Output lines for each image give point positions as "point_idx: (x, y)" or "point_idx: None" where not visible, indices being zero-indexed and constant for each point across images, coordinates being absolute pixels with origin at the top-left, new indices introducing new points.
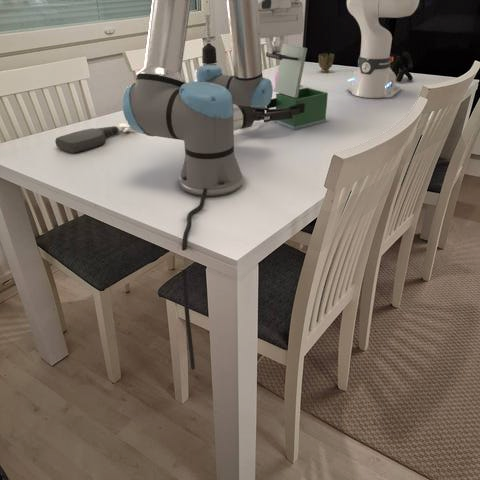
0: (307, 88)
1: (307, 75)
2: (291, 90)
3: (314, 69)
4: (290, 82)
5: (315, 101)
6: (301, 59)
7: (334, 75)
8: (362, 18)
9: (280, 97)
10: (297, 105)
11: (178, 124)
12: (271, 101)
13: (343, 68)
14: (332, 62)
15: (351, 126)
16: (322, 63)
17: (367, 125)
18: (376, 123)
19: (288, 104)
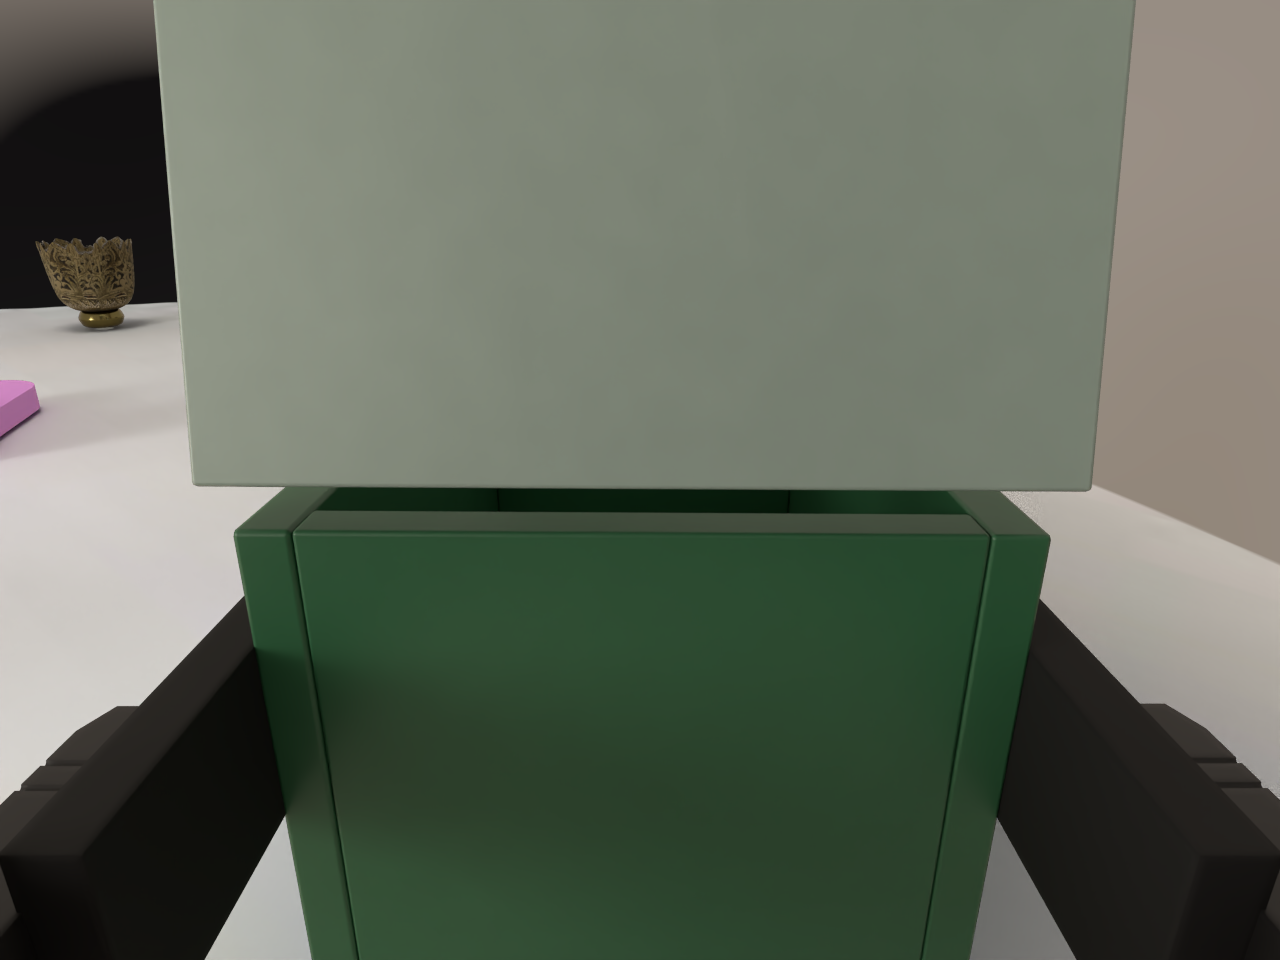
0: None
1: (16, 351)
2: (910, 325)
3: (24, 327)
4: (816, 104)
5: None
6: None
7: (177, 331)
8: None
9: (422, 587)
10: (1074, 645)
11: None
12: (182, 787)
13: (173, 307)
14: (133, 275)
15: (1045, 589)
16: (81, 283)
17: (1052, 533)
18: (1020, 497)
19: (752, 686)
